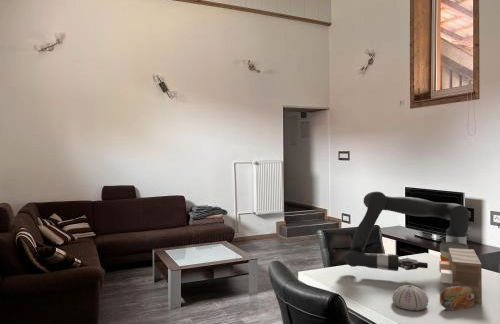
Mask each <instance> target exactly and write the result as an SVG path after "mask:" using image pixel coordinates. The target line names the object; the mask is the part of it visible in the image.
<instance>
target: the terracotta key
mask: <svg viewBox="0 0 500 324" xmlns="http://www.w3.org/2000/svg"><path fill="white" fill-rule="evenodd" d="M438 264H439V265H438V267H439V268H438V270H439V273H440V274H441V270H450V263H449V262H447V261H441V260H439V263H438Z"/></svg>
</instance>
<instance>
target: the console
mask: <svg viewBox="0 0 500 324" xmlns="http://www.w3.org/2000/svg"><path fill="white" fill-rule="evenodd" d="M449 263H450V270H452V283H448V285H449V287H454V286H460V285H465V286H469V287H471V288H473V289H474V291H475V294H476V300H475V303H474V304H477V305H482V304H483V301H482V300H483V299H482V297H483V295H482V291H483V290H482V286H483V284H482V283H483V282H482V277H483V276H482V275H483V274H482V270H483V269H482V267H483V266H482V262H481V260H480V259H479V257H478V255H477V254H476V252H475V249H471V248H470V249H469V248H468V249H458V248H449ZM474 304H473V305H474Z"/></svg>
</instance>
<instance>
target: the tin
mask: <svg viewBox="0 0 500 324" xmlns="http://www.w3.org/2000/svg"><path fill="white" fill-rule="evenodd" d="M475 300H476V294H475V291H474V289H473V288H471V287H469V286H465V285H460V286H454V287H450V286H447V287H445V288H443V289H442V290H441V292H440V293H439V302H440V305H441V306H442V307H443V308H444V309H446V310H448V311H449V312H450V311H451V312H452V311H453V312H454V311H458V310H459V311H460V310H464V309H465V310H466V309H470V308H471V307H473V306H474V303H475Z"/></svg>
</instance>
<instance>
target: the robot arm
mask: <svg viewBox="0 0 500 324" xmlns="http://www.w3.org/2000/svg"><path fill="white" fill-rule="evenodd" d="M363 204H364V206H365V207H366V208H367V209H366V212H365V215H364V216H363V218H362V220H361V221H360V223H359V225H358V226H357V227H356V229H355V232H354V234H353V236H352V239H351V246H350V248H349V251H347V252H346V253H345V254H344V257H343V260H344V261H345V263H346V265H348V266H350V267H353V268H354V267H366V268H369V269H378V270H382V271H391V272H398V271H399V268H401V269H404V271H405V270H406V271H410V270H412V271H413V270H418V269H428V265H429V264H428V262H421V261H418V260H417V259H413V258H409V257H406V258H405V257H404V258H399V255H398V254H394V253H373V252H370V253H367V252H364V251H365V248H366V246H367V244H368V242H369V238H370V236H371V233H372V231H373V228H374V227H375V224H376V222H377V221H378V219H379V217H380V214H381V213H382V212H383V211H389V212H394V213H397V214H402V215H408V216H414V217H436V218H441V219H444V220H446V221H449V224H450V225H449V227H448V228H446V230H445V235H446V236H445V242H458V243H463V244H466V245H468V244H467V234H468V231H469V222H470V221H469V220H470V219H469V217H470V216H469V209H468V208H467V207H466V206H465V205H462V204H460V203H459V204H458V203H453V202H451V203H450V202H436V201H435V202H434V201H431V200H428V199H424V198H419V197H411V196H387V195H385V193H383V192H382V191H378V190H377V191H372V192H368V193H366V195H365V196H364V197H363Z"/></svg>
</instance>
